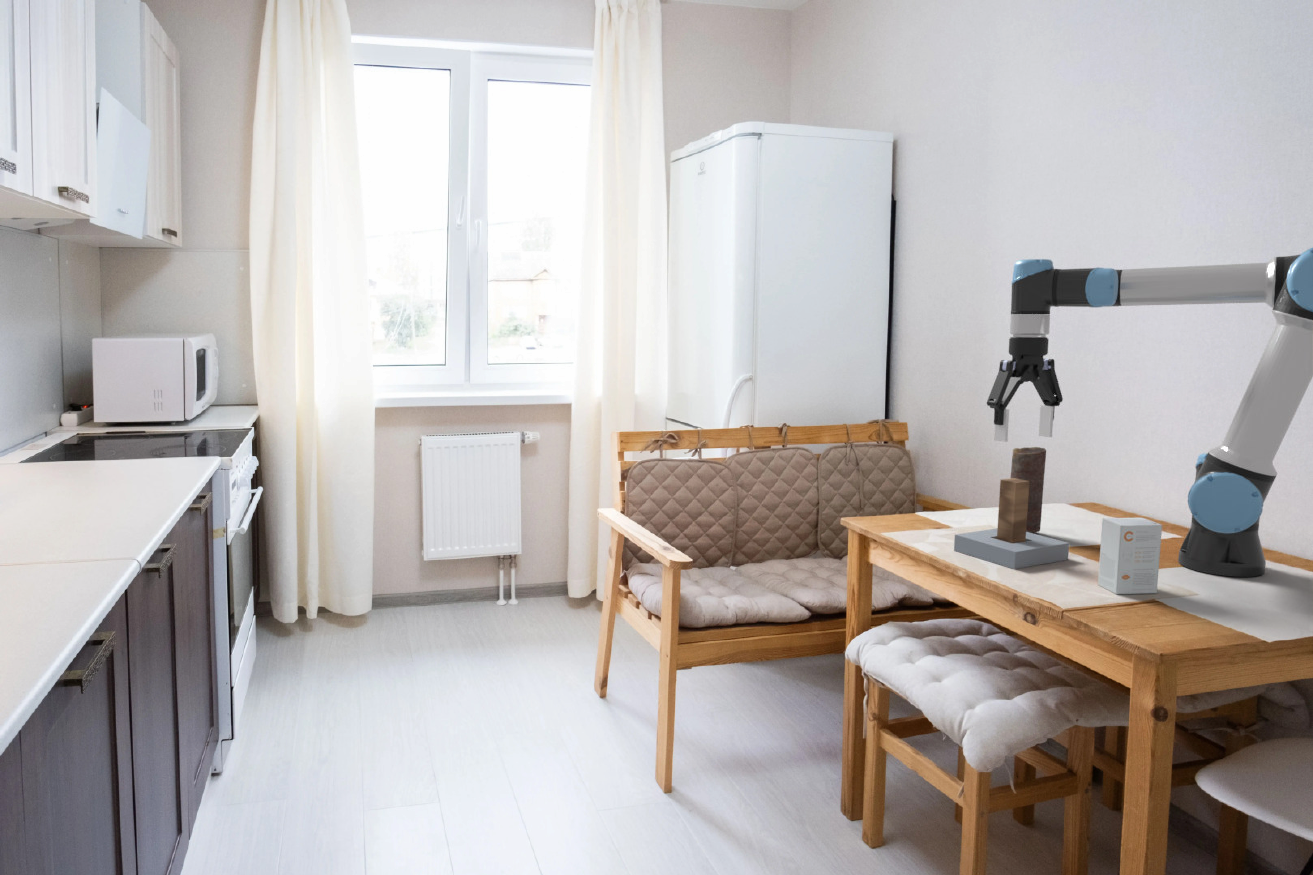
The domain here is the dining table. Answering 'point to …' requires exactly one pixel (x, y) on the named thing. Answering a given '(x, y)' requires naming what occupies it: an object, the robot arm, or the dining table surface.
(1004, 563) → the socket
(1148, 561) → the small box
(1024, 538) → the peg
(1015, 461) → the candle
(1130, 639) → the dining table surface
